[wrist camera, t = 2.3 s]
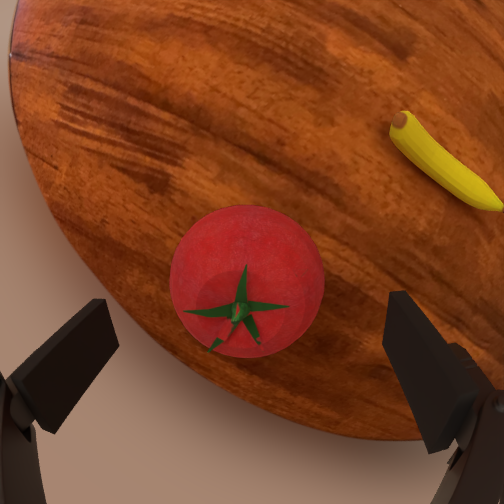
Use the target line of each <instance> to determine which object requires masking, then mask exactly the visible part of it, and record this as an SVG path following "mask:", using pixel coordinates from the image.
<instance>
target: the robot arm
mask: <svg viewBox="0 0 504 504" xmlns="http://www.w3.org/2000/svg"><path fill="white" fill-rule="evenodd" d="M382 345H383V347H384V349H385V352H386V354H387V356H388V358H389V360H390V362H391V364H392V367H393V369H394V371H395V373H396V375H397V378H398V380H399V382H400V384H401V387H402V389H403V391H404V394H405V396H406V398H407V401H408V403H409V405H410V408H411V410H412V413H413V415H414V418H415V420H416V422H417V425H418V428H419V430H420V433H421V435H422V438H423V440H424V443H425V445H426V448H427V451H428V454H432V453H435V452H439V451H442V450H445V449H448V448H449V446H450V445H451V443H452V442H453V440H454V438H455V439H456V441H457V443H458V445H459V446H458V447H457V449H456V451H455V452H454V454H453V455H452V457H451V458H450V459H449V461H448V462H447V464H450V465H449V467H448V469H447V471H446V473H445V476H444V478H443V480H442V482H441V484H440V486H439V488H438V490H437V492H436V494H435V496H434V498H433V500H432V502H431V504H498V502H499V499H500V503H499V504H504V390H495V388H494V387H493V385H492V384H491V382H490V381H489V380H488V378H487V377H486V376H485V374H484V373H483V372H482V370H481V369H480V367H479V366H477V364H476V362H475V361H474V360H472V357H471V356H470V354H469V353H468V352H467V351H466V349H464V348H463V347H461V346H460V345H458V344H457V343H451V344H447V343H446V341H445V340H444V339H443V337H442V336H441V335H440V333H439V332H438V331H437V329H436V328H435V327H434V326H433V324H432V323H431V322H430V320H429V319H428V318H427V317H426V315H425V314H424V313H423V312H422V310H421V309H420V308H419V307H418V306H417V304H416V303H415V302H414V301H413V299H412V298H411V297H410V296H409V295H408V293H407V292H406V291H393V292H389V301H388V308H387V316H386V322H385V329H384V335H383V341H382ZM118 347H119V343H118V340H117V336H116V334H115V330H114V327H113V324H112V320H111V317H110V314H109V310H108V307H107V303H106V300H105V299H92V300H91V301H90V302H89V303H88V304H87V305H86V306H84V307H83V308H82V309H81V310H80V311H79V312H78V313H76V314H75V315H74V316H73V317H72V318H71V319H70V320H69V321H68V322H67V323H65V324H64V325H63V326H62V327H61V328H60V329H59V330H58V331H57V332H55V333H54V334H53V335H52V336H51V337H50V338H49V339H48V340H47V341H46V342H45V343H44V344H43V345H42V346H40V348H38V349H36V351H34V352H33V353H32V354H31V355H30V357H28V358H27V359H26V360H25V361H24V363H22V364H21V365H20V366H19V367H18V368H17V369H16V370H15V371H14V372H13V373H12V374H11V375H10V376H9V377H8V378H7V379H6V380H5V379H4V377H3V375H2V373H1V372H0V504H47V503H46V499H45V494H44V489H43V485H42V479H41V473H40V467H39V459H38V451H37V442H36V432H35V428H34V426H33V424H32V422H33V421H34V420H35V419H36V421H37V422H38V424H39V425H40V427H41V428H42V429H43V430H45V431H48V432H50V433H52V434H55V433H56V432H57V431H58V429H59V427H60V426H61V425H62V423H63V422H64V421H65V419H66V418H67V416H68V415H69V413H70V412H71V411H72V409H73V408H74V406H75V405H76V404H77V402H78V401H79V400H80V398H81V397H82V395H83V394H84V393H85V391H86V390H87V389H88V387H89V386H90V384H91V383H92V382H93V380H94V379H95V378H96V376H97V375H98V374H99V372H100V371H101V370H102V368H103V367H104V366H105V364H106V363H107V362H108V360H109V359H110V358H111V356H112V355H113V354H114V353H115V351H116V350H117V349H118Z"/></svg>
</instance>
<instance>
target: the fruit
mask: <svg viewBox="0 0 504 504" xmlns="http://www.w3.org/2000/svg"><path fill="white" fill-rule="evenodd" d="M389 136H390V139H391V140H392V142H393V143H394V145H395V146H396V147H397V148H398V149H399V150H400V152H402V153H403V154H404V155H405V156H406V157H407V158H408V159H409V160H410V161H411V162H412V163H414V164H415V165H416V166H417V167H418V168H420V169H421V170H422V171H423V172H424V173H426V174H427V175H428V176H429V177H431V178H432V179H433V180H435V181H436V182H437V183H438V184H440V185H441V186H442V187H444V188H445V189H446V190H448V191H449V192H451V193H452V194H453V195H455V196H456V197H457V198H459V199H460V200H462V201H463V202H465V203H467V204H469V205H471V206H473V207H475V208H478V209H482V210H489V211H500V212H503V213H504V204H503V203H502V202H501V201H500V200H499V198H498V197H497V196H496V194H495V193H494V192H493V191H492V189H491V188H490V187H489V186H488V185H487V184H486V183H485V182H484V181H483V180H482V179H481V178H480V177H479V176H478V175H476V174H475V173H474V172H472V171H471V170H470V169H468V168H467V167H466V166H464V165H463V164H462V163H460V162H459V161H458V160H457V159H455V158H454V157H453V156H452V155H451V154H450V153H448V152H447V151H446V150H445V149H444V148H443V147H442V146H440V145H439V144H438V143H437V142H436V141H435V140H434V139H433V138H432V137H431V136H430V135H429V134H428V133H427V131H426V130H425V129H424V128H423V127H422V125H421V124H420V123H419V122H418V120H417V119H416V117H415V116H414V115H412V114H411V113H410V112H408V111H401V112H397V113H396V114H395V115H394V117H393V120H392V123H391V126H390V132H389Z"/></svg>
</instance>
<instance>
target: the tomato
mask: <svg viewBox="0 0 504 504" xmlns="http://www.w3.org/2000/svg"><path fill="white" fill-rule="evenodd" d="M324 284H325V277H324V270H323V264H322V260H321V257H320V254H319V252H318V249H317V247H316V245H315V244H314V242H313V240H312V239H311V237H310V236H309V234H308V233H307V232H306V231H305V230H304V229H303V228H302V227H301V226H300V225H299V224H298V223H297V222H295V221H294V220H292V219H291V218H289V217H288V216H286V215H285V214H282V213H280V212H278V211H275V210H273V209H270V208H266V207H261V206H256V205H235V206H230V207H226V208H221V209H219V210H216V211H214V212H212V213H210V214H207V215H206V216H204V217H203V218H202V219H200V220H199V221H198V222H196V223H195V224H194V225H193V226H192V227H191V228H190V229H189V231H188V232H187V233H186V234H185V235H184V236H183V238H182V239H181V241H180V243H179V245H178V246H177V248H176V250H175V253H174V257H173V260H172V263H171V271H170V284H169V285H170V292H171V299H172V301H173V304H174V307H175V310H176V312H177V314H178V316H179V318H180V320H181V321H182V323H183V325H184V327H185V328H186V329H187V330H188V331H189V332H190V334H191V335H192V336H193V337H194V338H196V339H197V340H198V341H199V342H200V343H202V344H203V345H205V346H207V347H208V348H209V350H208V351H207V352H210V351H211V350H214V351H216V352H219V353H222V354H224V355H228V356H233V357H238V358H255V357H263V356H267V355H270V354H273V353H276V352H278V351H280V350H282V349H284V348H286V347H288V346H289V345H290V344H292V343H293V342H294V341H295V340H297V339H298V338H299V337H301V336H302V335H303V334H304V332H305V331H306V330H307V329H308V328H309V327H310V326H311V324H312V322H313V320H314V318H315V317H316V315H317V313H318V310H319V307H320V304H321V301H322V297H323V294H324Z"/></svg>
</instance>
